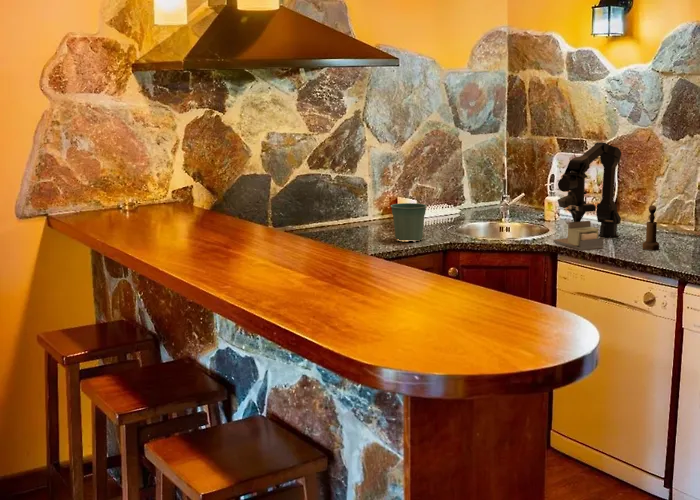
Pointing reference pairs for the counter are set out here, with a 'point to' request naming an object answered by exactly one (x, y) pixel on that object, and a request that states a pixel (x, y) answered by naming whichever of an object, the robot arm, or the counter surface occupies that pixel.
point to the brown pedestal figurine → (651, 232)
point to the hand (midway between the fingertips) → (576, 225)
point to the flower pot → (408, 220)
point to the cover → (579, 230)
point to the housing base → (582, 243)
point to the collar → (587, 236)
